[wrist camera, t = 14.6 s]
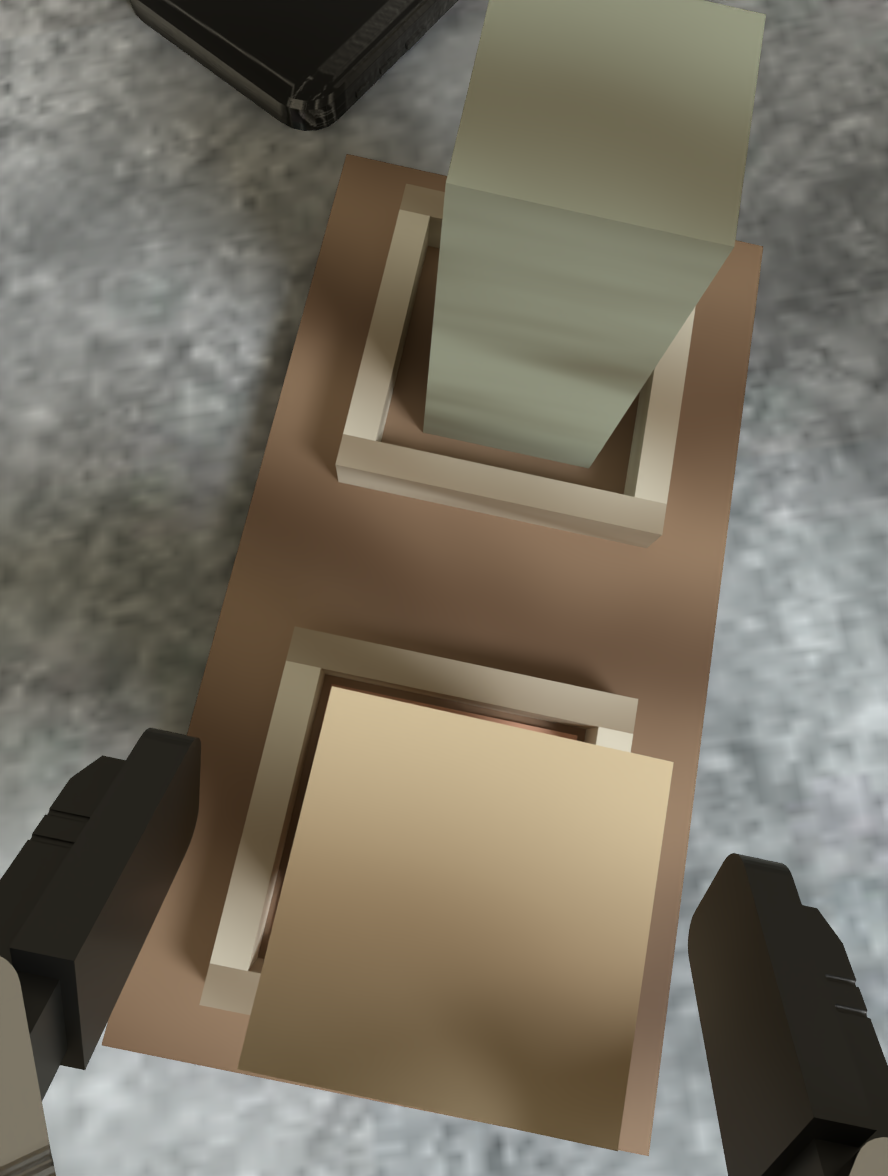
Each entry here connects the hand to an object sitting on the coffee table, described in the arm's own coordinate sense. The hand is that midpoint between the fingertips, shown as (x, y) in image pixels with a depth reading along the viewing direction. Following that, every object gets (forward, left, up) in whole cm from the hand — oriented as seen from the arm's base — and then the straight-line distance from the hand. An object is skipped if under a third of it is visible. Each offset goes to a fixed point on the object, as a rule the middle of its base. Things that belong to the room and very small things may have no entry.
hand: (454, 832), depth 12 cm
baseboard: (-3, -4, -8) cm, 9 cm away
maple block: (0, +1, -7) cm, 7 cm away
